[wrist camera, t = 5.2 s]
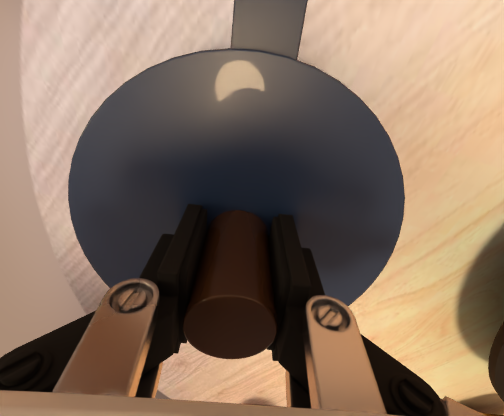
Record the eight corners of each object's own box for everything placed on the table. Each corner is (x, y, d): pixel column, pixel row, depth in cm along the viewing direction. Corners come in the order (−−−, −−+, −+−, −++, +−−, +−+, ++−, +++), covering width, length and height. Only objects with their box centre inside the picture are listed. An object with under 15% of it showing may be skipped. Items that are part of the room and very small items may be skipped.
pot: (164, 248, 23) (122, 335, 16) (153, -11, 15) (51, -84, 7) (305, 263, 24) (328, 353, 17) (373, 23, 15) (484, -12, 8)
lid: (106, 311, 15) (34, 434, 10) (51, 21, 9) (-223, -37, 4) (341, 331, 16) (382, 454, 11) (448, 79, 9) (670, 96, 4)
